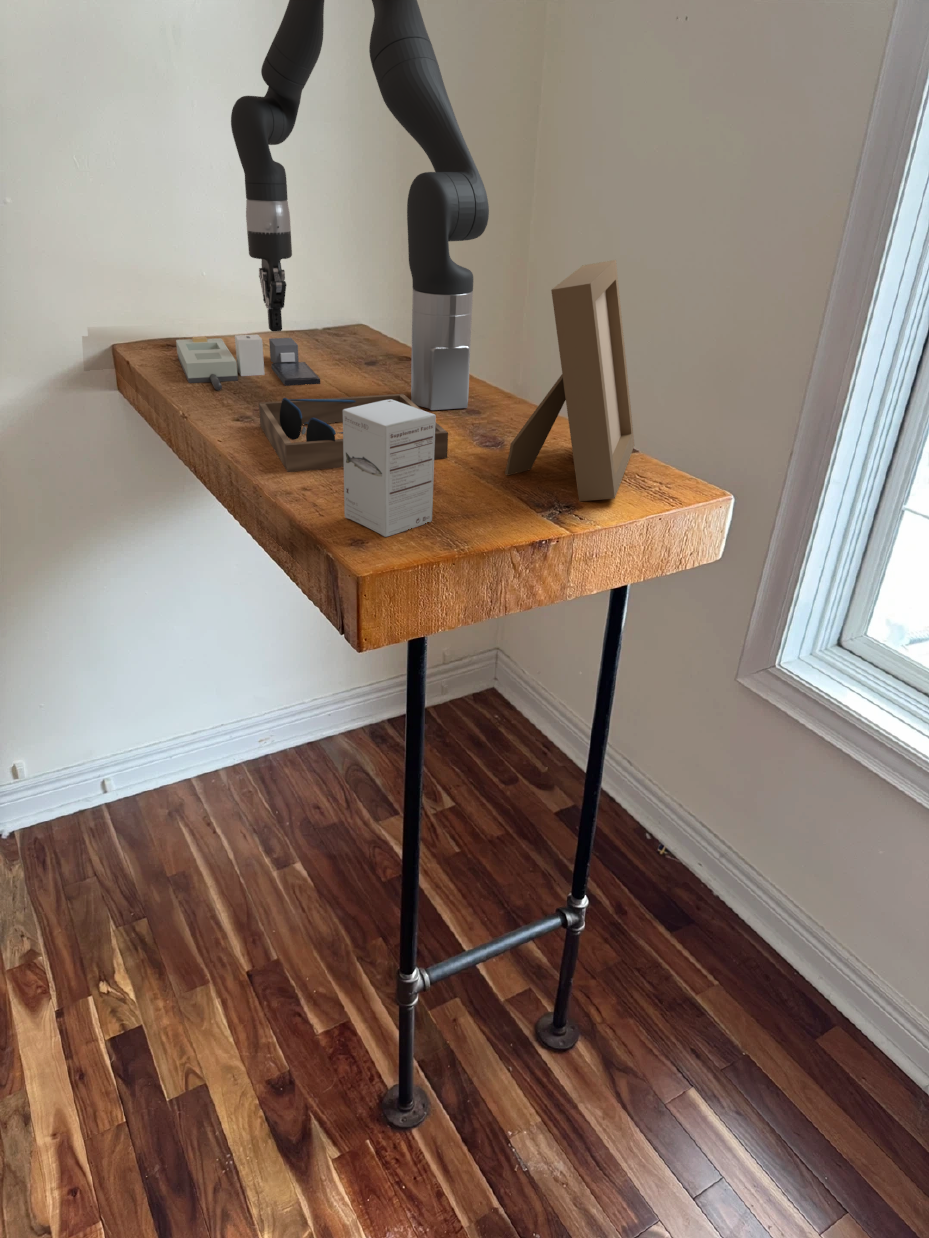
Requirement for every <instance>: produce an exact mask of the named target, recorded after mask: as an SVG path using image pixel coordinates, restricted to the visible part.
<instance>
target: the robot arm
mask: <svg viewBox="0 0 929 1238" xmlns="http://www.w3.org/2000/svg"><path fill="white" fill-rule="evenodd" d="M371 2H372V6H373V9H374V10H373V11H374V12H373V13H374V17H373V23H372V26H371V27H372V28H371V32H370V37H369V38H370V39H369V45H368V46H369V47H368V48H369V51H368V52H369V58H370V64H371V66H372V71H373V74H374V77H375V79H376V82H377V86H378V88H379V92H380V94H381V98H382V101H383V102H384V104H385V106H386V108H388V111H389V112H390V113H391V114H392V116H393V117H394V118H395V119H396V120H397V122H398V123H399V124H400V125H401V127H403V129H405V131H406V132H407V133H408V134H409V135H410V136H411V137H412V138H413V139H414V141H416V143H417V144H418V145H419V147H420V148H421V149H422V150H423V151H424V153H425V154H426V156H427V159H429V161H430V163H431V166H432V167H433V170H434V171H426V172H421V173H419V174H418V175H416V176H415V177H414V179H413V180H412V183H411V185H410V187H409V189H408V190H409V191H408V196H407V202H406V203H407V206H406V220H407V222H406V223H407V240H408V241H407V245H408V247H407V248H408V249H407V250H408V265H409V270H410V275H411V279H412V298H411V299H412V305H411V306H412V309H411V311H412V313H411V363H410V364H411V371H410V375H411V380H410V382H411V383H410V384H411V385H410V387H411V388H410V389H411V390H410V393H411V394H410V400H411V401H412V402H413V403H414V404H415V405H417V406H418V407H422V408H426V409H429V410H430V411H438V410H439V411H440V410H441V411H442V410H453V409H454V410H455V409H467V408H468V403H469V391H470V388H469V387H470V367H471V366H470V364H471V360H470V359H471V343H472V339H471V337H472V320H473V319H472V318H473V317H472V316H473V301H474V300H473V298H474V297H473V296H474V274H473V272H472V271H471V269H469V268H467V267H465V266H462V265H459V264H458V263H456V262H455V261H454V260H453V259H452V258H451V255H450V247H449V246H450V245H449V242H462V241H470V240H471V241H473V240H476V239H477V238H479V237H481V236H482V235H483V234H484V232H485V230H486V228H487V227H488V223H489V215H490V214H489V213H490V209H489V208H490V206H489V199H488V196H487V195H488V194H487V191H486V187H485V185H484V182H483V179H482V177H481V174H480V171H479V170H478V168H477V165H476V163H475V161H474V158H473V156H472V154H471V152H470V150H469V148H468V145H467V143H466V140H465V138H464V135H463V133H462V131H461V128H460V126H459V123H458V121H457V118H456V115H455V112H454V109H453V106H452V103H451V101H450V98H449V95H448V92H447V90H446V86H445V83H444V80H443V79H444V78H443V76H442V73H441V69H440V65H439V63H438V60H437V56H436V53H435V50H434V47H433V44H432V41H431V38H430V36H429V34H428V31H427V28H426V25H425V22H424V19H423V16H422V12H421V9H420V6H419V3H418V0H371ZM324 8H325V0H288V3H287V6H286V9H285V12H284V14H283V17H282V20H281V22H280V24H279V27H278V29H277V31H276V33H275V35H274V38H273V40H272V42H271V45H270V46H269V49H268V51H267V53H266V55H265V58H264V60H263V62H262V66H261V72H260V73H261V74H260V75H261V77H262V80H263V81H264V83H265V84H266V85H267V86H268V87H267V91H266V93H265V95H264V96H258V95H257V96H255V95H243V96H241V97H239V98H238V99H237V100H236V101H235V102H234V104H233V107H232V110H231V115H230V128H231V133H232V137H233V140H234V141H233V142H234V144H235V148H236V151H237V153H238V154H237V155H238V157H239V161H240V163H241V166H242V169H243V173H244V187H245V198H246V201H245V202H246V203H245V206H246V207H245V220H246V232H247V233H246V235H247V244H248V245H247V246H248V256H249V257H250V258H253V259H257V260H261V264H260V265H261V267H259V268H258V278H259V281H260V282H259V283H260V287H261V293H262V298H263V299H262V300H263V304H265V305H264V306H265V308H266V309H267V320H268V321H267V322H268V329H269V330H270V332H281V331H283V319H282V310H283V309H284V308H285V301H286V290H287V282H286V271H285V269H282V263H281V261H282V260H288V259H290V258H291V257H292V256H293V249H292V245H293V244H292V232H291V231H292V230H291V229H292V227H291V215H290V209H289V201H288V185H287V173H286V169H285V167H284V166H283V165H282V163H280V162H278V161H275V160H274V159H273V156H272V153H271V150H270V146H275V145H280V144H282V143H284V142H285V141H286V140H287V139H288V138H289V136H291V133H292V132H293V129H294V128H295V125H296V121H297V117H298V112H299V107H300V105H301V98H302V92H303V90H304V88H305V86H306V84H307V83H308V81H309V78H310V77H311V74H312V72H313V71H314V68H315V67H316V64H317V62H318V60H319V58H320V54H321V50H322V47H323V43H324V29H325V28H324V23H325V22H324V17H325V16H324V14H325V13H324V12H325V11H324V10H325V9H324Z"/></svg>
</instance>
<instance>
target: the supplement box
mask: <svg viewBox="0 0 929 1238" xmlns="http://www.w3.org/2000/svg"><path fill="white" fill-rule="evenodd" d="M420 409H421V408H420ZM420 409H417V408H415V407H412V406H409V405H406V404H403V403H400V402H398V401H395V400H392V399H389V400H383V401H378V402H374V403H369V404H365V405H361V406H356V407H351V408H347V409H344V410H343V422H342V432H343V434H342V439H343V456H344V467H343V499H344V501H343V502H344V503H343V504H344V505H343V506H344V507H343V509H344V510H343V511H344V518H345V519H348V520H351V521H353V522H355V523H357V524H359V525H361V526H364V527H366V528H368V529H369V530H372V531H374V532H376V533H378V534H380V535H381V536H382V537H384V538H388V537H390V536H393V535H397V534H399V533H403V532H406V531H408V529H409V530H411V528H412V529H414V528H417V527H418V528H419V527H420V526H424V525H426V524H428V523H427V522H429V523H431V522H432V521H433V503H434V502H433V499H434V479H435V478H434V475H435V459H434V448H435V422H437V421H436V419H437V417H436V414H434V413H431V412H428V411H425V410H423V409H421V410H420ZM425 523H426V524H425Z"/></svg>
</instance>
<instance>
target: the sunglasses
mask: <svg viewBox="0 0 929 1238" xmlns="http://www.w3.org/2000/svg"><path fill="white" fill-rule="evenodd" d="M281 401H282V403H281V407H280V424H281V428H282V430H283V431H284V433H285V434H286V436H287V437H288V439H289V440H292V441H294V440H298V439H299V438H300V436H301V435H305V434H306V435H305V442H309V441H322V440H332V441H335V439H336V435H337V432H336V430H335V428H333V426H331V425H330V424H329V423H328V424H327V423H325V422H323V421H321V420H318V419H316V418H311V419H310V420H309V421H310V422H309V421H308V423H307V422H305V423H304V425H302V420H301V419H302V414H301V411H300V409H299V408H298V407H297V406H296V405H294V404H293V403H292V402H291V401H312V402H356V401H354V400H337V399H326V398H290V399H288V398H287V397H283V398H282V399H281ZM306 423H307V424H308V425H305V424H306ZM302 426H303V427H302ZM338 434H342V435H343V431H341V432H338Z"/></svg>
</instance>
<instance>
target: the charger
mask: <svg viewBox="0 0 929 1238" xmlns="http://www.w3.org/2000/svg"><path fill="white" fill-rule="evenodd" d="M234 341H235V342H234V343H235V356H236V358H235V359H236V363H237V373H239V375H240V376H241V377H248V376H249V377H250V376H251V377H252V376H265V363H264V360H265V359H264V348H263V347H264V346H263V344H264V343H263V338H262V337H260V335H259V334H242V335H240V334H239V335H238V334H237V335H236V334H235V335H234Z"/></svg>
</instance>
